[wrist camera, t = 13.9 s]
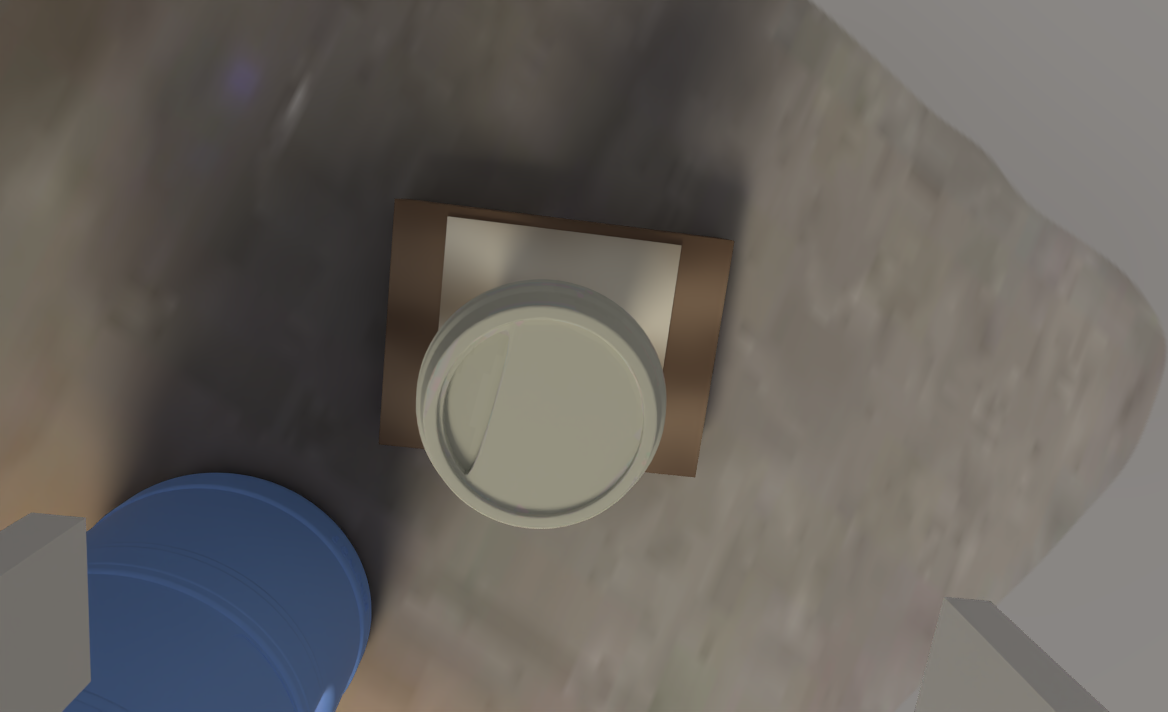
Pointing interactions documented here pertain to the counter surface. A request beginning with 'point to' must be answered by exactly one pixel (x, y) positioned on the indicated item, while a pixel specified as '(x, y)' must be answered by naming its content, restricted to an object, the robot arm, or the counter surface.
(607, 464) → the coffee cup
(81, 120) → the counter surface
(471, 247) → the walnut plinth
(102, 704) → the water jug
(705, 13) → the counter surface
